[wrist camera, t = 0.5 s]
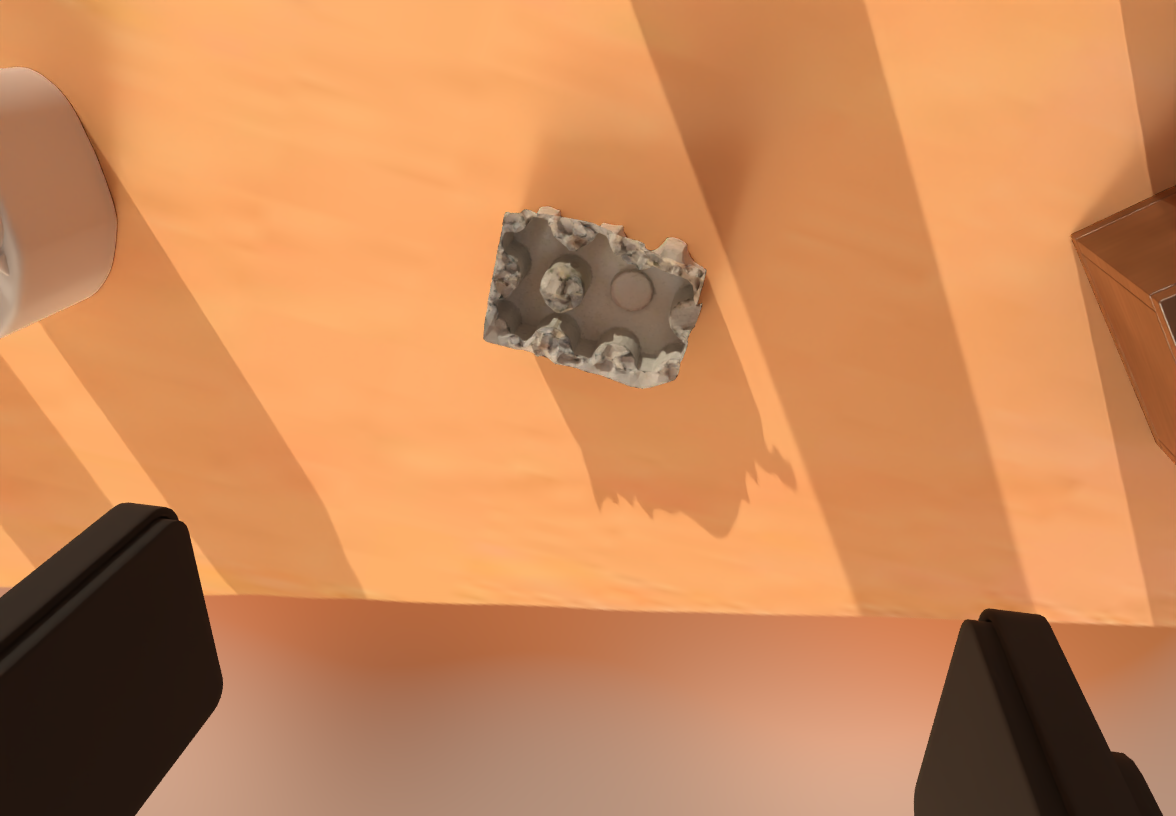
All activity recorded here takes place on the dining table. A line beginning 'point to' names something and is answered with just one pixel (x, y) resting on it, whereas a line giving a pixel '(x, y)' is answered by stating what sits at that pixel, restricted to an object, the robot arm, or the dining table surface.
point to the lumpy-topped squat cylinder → (48, 204)
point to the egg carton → (593, 297)
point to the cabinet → (1140, 301)
